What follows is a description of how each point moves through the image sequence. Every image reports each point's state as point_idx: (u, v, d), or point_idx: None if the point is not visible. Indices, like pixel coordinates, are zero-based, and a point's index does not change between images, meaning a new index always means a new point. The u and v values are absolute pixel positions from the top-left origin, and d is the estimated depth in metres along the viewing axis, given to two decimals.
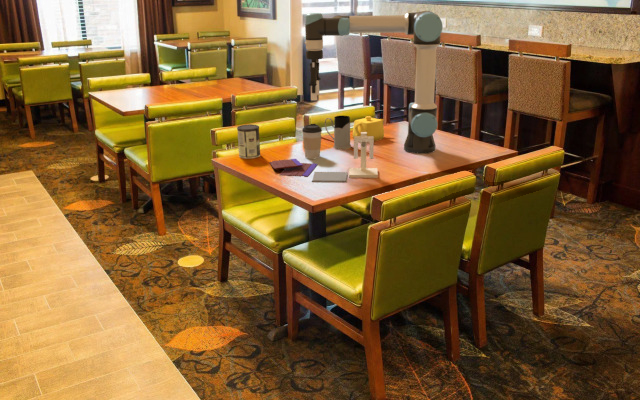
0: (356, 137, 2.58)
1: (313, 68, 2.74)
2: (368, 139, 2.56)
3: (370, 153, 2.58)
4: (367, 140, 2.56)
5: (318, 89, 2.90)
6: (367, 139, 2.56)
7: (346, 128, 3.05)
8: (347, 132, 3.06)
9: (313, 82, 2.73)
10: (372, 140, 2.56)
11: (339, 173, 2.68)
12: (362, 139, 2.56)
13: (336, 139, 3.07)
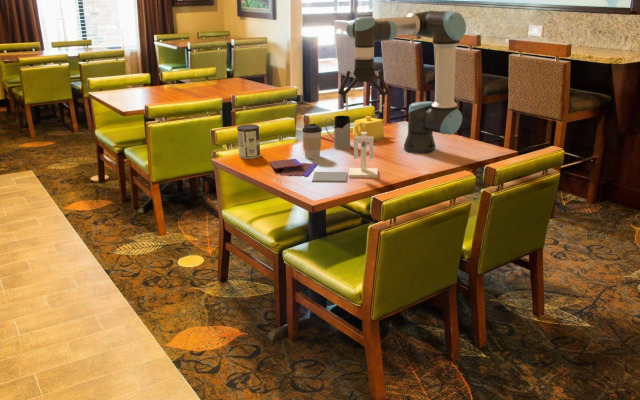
0: (356, 137, 2.58)
1: (346, 76, 2.50)
2: (368, 139, 2.56)
3: (370, 153, 2.58)
4: (367, 140, 2.56)
5: None
6: (367, 139, 2.56)
7: (346, 128, 3.05)
8: (347, 132, 3.06)
9: (339, 90, 2.52)
10: (372, 140, 2.56)
11: (339, 173, 2.68)
12: (362, 139, 2.56)
13: (336, 139, 3.07)
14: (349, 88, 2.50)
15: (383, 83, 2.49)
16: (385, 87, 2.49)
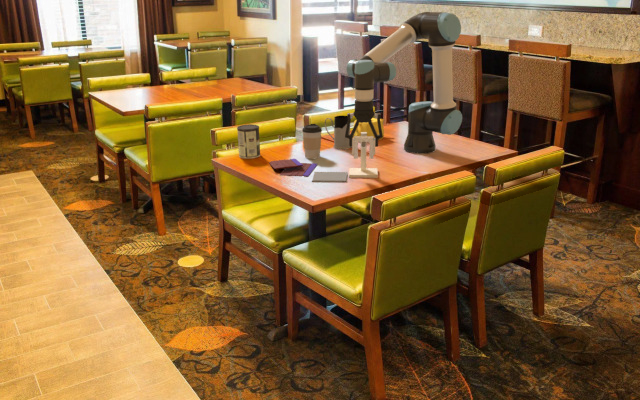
0: (356, 137, 2.58)
1: (348, 120, 2.56)
2: (368, 139, 2.56)
3: (370, 153, 2.58)
4: (367, 140, 2.56)
5: (373, 149, 2.58)
6: (367, 139, 2.56)
7: None
8: None
9: None
10: (372, 140, 2.56)
11: (339, 173, 2.68)
12: (362, 139, 2.56)
13: (336, 139, 3.07)
14: (353, 131, 2.56)
15: (379, 126, 2.55)
16: (380, 131, 2.55)
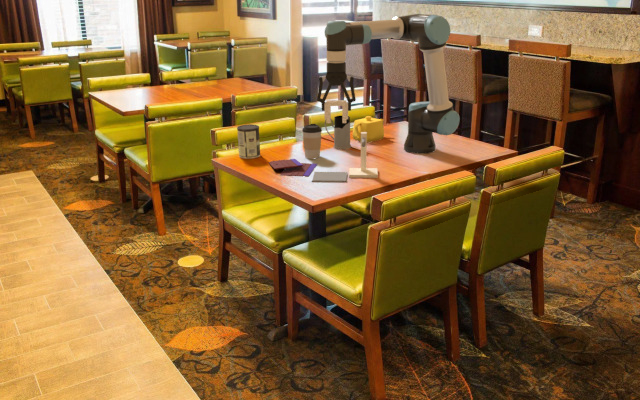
0: (329, 101, 2.52)
1: (320, 83, 2.50)
2: (341, 103, 2.50)
3: (343, 117, 2.52)
4: (340, 104, 2.50)
5: (346, 113, 2.52)
6: (340, 103, 2.50)
7: (346, 128, 3.05)
8: (347, 132, 3.06)
9: None
10: (345, 103, 2.50)
11: (339, 173, 2.68)
12: (335, 103, 2.50)
13: (336, 139, 3.07)
14: (326, 94, 2.50)
15: (352, 89, 2.49)
16: (353, 94, 2.50)
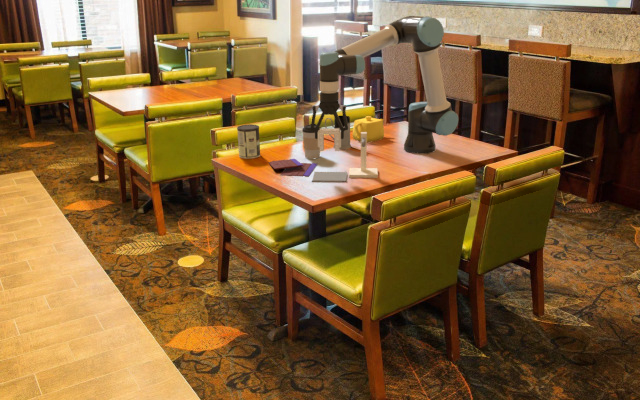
0: (322, 129, 2.58)
1: (313, 112, 2.56)
2: (334, 131, 2.56)
3: (336, 145, 2.58)
4: (332, 132, 2.56)
5: None
6: (332, 131, 2.56)
7: None
8: (347, 132, 3.06)
9: (311, 126, 2.58)
10: (337, 132, 2.56)
11: (339, 173, 2.68)
12: (327, 131, 2.56)
13: None
14: (319, 123, 2.56)
15: (344, 119, 2.54)
16: (345, 123, 2.55)
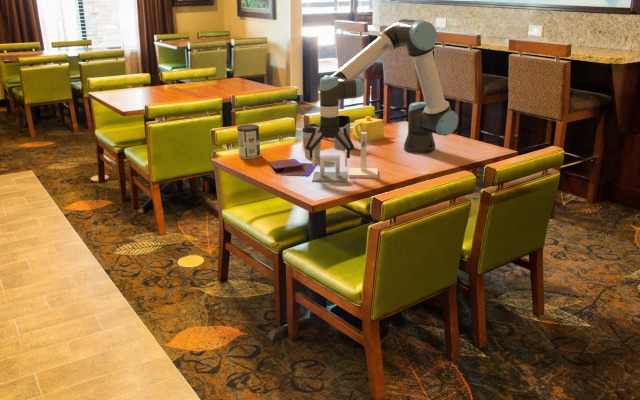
0: (322, 156, 2.61)
1: None
2: (334, 158, 2.60)
3: (336, 172, 2.62)
4: (333, 159, 2.60)
5: (345, 160, 2.61)
6: (333, 158, 2.60)
7: (346, 128, 3.05)
8: (347, 132, 3.06)
9: (306, 146, 2.61)
10: (338, 159, 2.60)
11: None
12: (328, 158, 2.60)
13: (336, 139, 3.07)
14: (315, 144, 2.59)
15: (348, 139, 2.57)
16: (350, 143, 2.58)
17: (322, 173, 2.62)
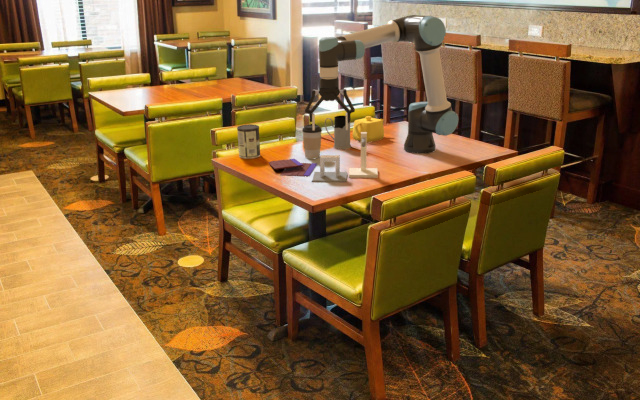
0: (322, 156, 2.61)
1: (312, 95, 2.53)
2: (334, 158, 2.60)
3: (336, 172, 2.62)
4: (333, 159, 2.60)
5: None
6: (333, 158, 2.60)
7: None
8: (347, 132, 3.06)
9: (305, 109, 2.55)
10: (338, 159, 2.60)
11: None
12: (328, 158, 2.60)
13: (336, 139, 3.07)
14: (315, 107, 2.54)
15: (348, 102, 2.52)
16: (350, 105, 2.53)
17: (322, 173, 2.62)
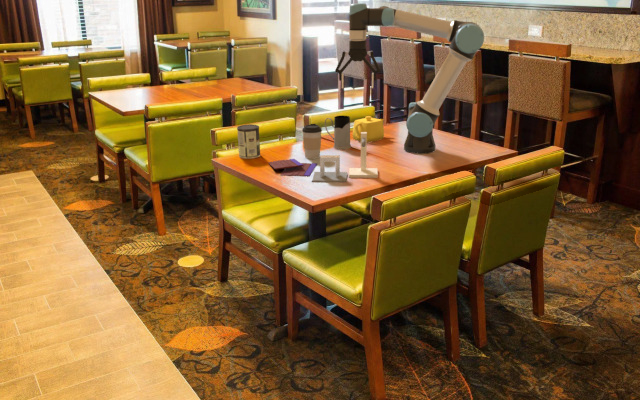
0: (322, 156, 2.61)
1: (342, 56, 2.82)
2: (334, 158, 2.60)
3: (336, 172, 2.62)
4: (333, 159, 2.60)
5: None
6: (333, 158, 2.60)
7: (346, 128, 3.05)
8: (347, 132, 3.06)
9: None
10: (338, 159, 2.60)
11: None
12: (328, 158, 2.60)
13: (336, 139, 3.07)
14: (344, 67, 2.82)
15: (374, 62, 2.80)
16: (376, 66, 2.81)
17: (322, 173, 2.62)
